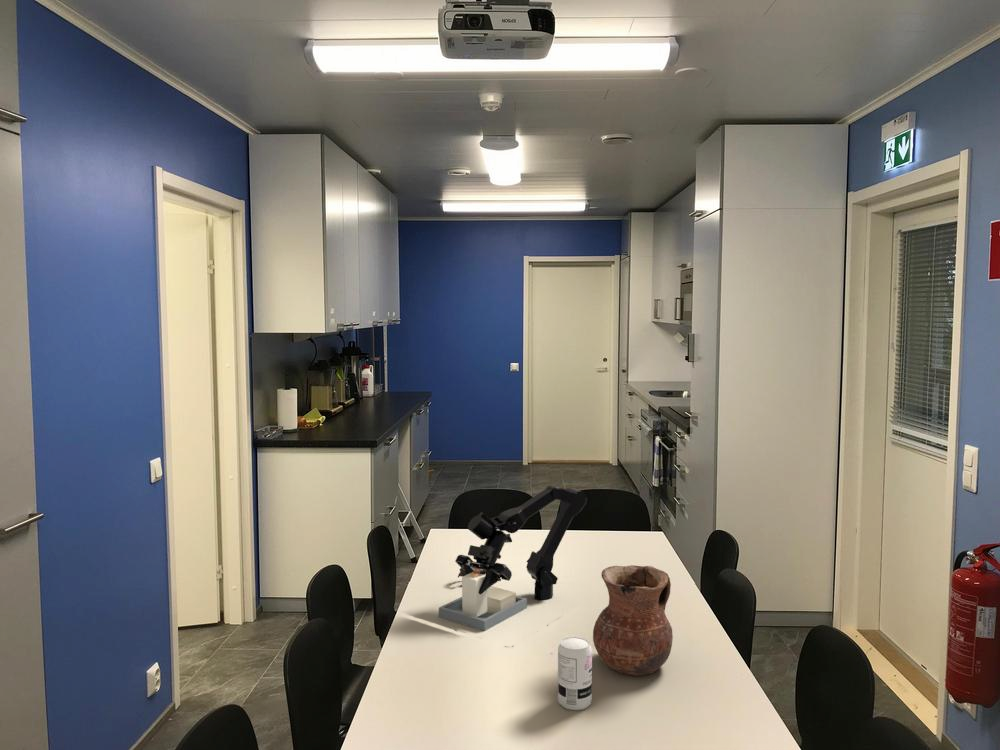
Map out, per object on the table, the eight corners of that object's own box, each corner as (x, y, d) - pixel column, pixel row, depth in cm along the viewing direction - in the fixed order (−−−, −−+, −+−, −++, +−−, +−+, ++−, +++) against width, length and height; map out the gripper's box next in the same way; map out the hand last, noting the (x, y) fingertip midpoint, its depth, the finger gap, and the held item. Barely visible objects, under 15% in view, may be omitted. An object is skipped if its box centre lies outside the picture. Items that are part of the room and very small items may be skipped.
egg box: (485, 599, 246) (485, 584, 245) (515, 607, 239) (515, 592, 238) (470, 607, 239) (470, 591, 239) (500, 615, 232) (500, 600, 232)
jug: (655, 691, 187) (656, 593, 185) (579, 670, 198) (579, 578, 196) (683, 657, 205) (684, 568, 203) (613, 640, 216) (613, 556, 215)
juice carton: (473, 607, 235) (473, 569, 234) (487, 611, 232) (486, 572, 231) (462, 613, 231) (461, 574, 230) (476, 617, 227) (475, 577, 226)
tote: (482, 598, 249) (482, 587, 249) (526, 610, 238) (526, 598, 238) (438, 620, 231) (438, 607, 231) (484, 634, 221) (484, 621, 220)
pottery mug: (456, 591, 257) (453, 567, 261) (465, 595, 265) (462, 571, 269) (488, 585, 255) (485, 561, 258) (497, 588, 263) (494, 565, 266)
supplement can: (555, 695, 185) (555, 636, 184) (588, 693, 185) (588, 635, 184) (560, 712, 177) (560, 651, 176) (595, 710, 177) (595, 649, 176)
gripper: (458, 529, 238) (436, 573, 230) (506, 539, 227) (484, 585, 219) (473, 547, 245) (453, 590, 237) (520, 557, 234) (500, 602, 226)
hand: (471, 591), depth 230 cm, fingers closed on juice carton, 5 cm apart
